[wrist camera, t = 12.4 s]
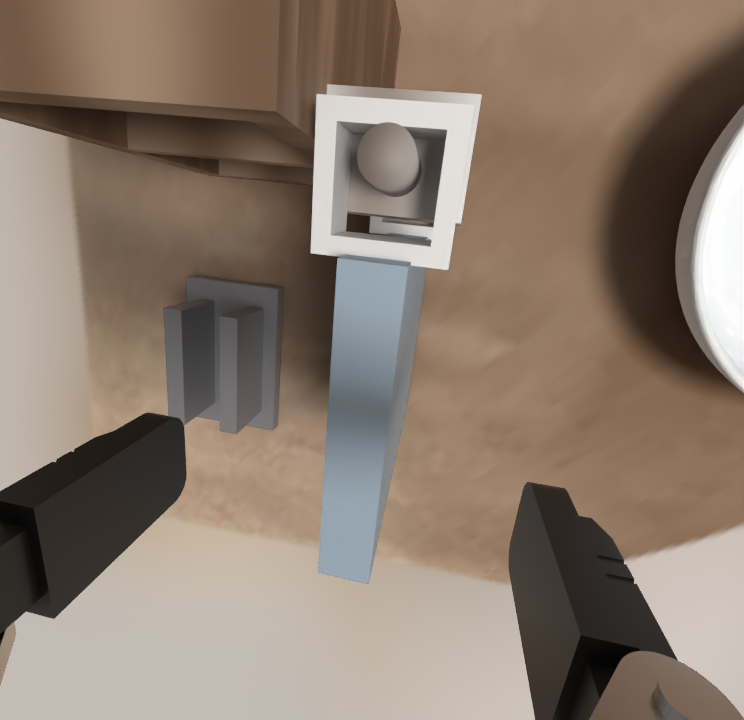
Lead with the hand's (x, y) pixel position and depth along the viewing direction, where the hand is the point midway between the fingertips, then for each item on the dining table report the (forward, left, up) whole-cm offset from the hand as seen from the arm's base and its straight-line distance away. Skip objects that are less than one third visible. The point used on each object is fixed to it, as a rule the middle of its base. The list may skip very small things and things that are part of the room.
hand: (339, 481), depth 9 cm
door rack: (+13, +5, -20) cm, 24 cm away
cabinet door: (0, -2, -20) cm, 20 cm away
